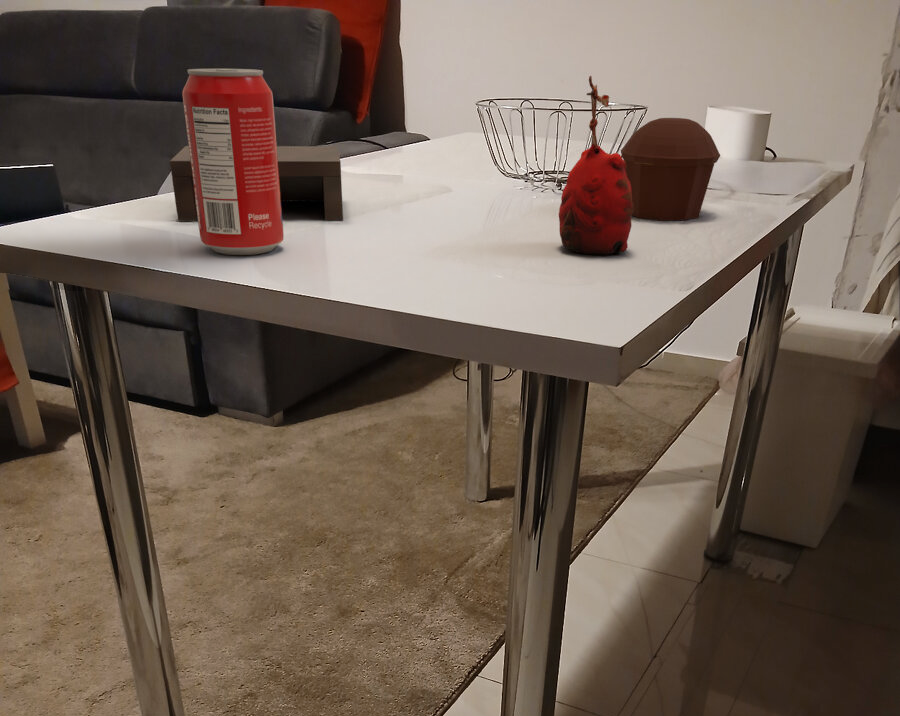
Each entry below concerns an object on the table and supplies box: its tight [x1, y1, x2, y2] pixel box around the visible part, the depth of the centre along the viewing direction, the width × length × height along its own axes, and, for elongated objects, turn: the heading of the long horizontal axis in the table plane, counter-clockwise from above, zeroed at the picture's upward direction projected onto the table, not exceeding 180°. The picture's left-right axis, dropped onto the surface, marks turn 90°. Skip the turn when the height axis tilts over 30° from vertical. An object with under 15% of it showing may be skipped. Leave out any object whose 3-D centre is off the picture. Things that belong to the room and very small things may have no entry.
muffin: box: [620, 117, 721, 221], centre depth 105 cm, size 12×11×10 cm
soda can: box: [181, 68, 284, 256], centre depth 83 cm, size 8×8×15 cm
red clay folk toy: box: [558, 75, 634, 256], centre depth 85 cm, size 8×7×15 cm
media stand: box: [169, 145, 344, 222], centre depth 104 cm, size 18×14×6 cm
